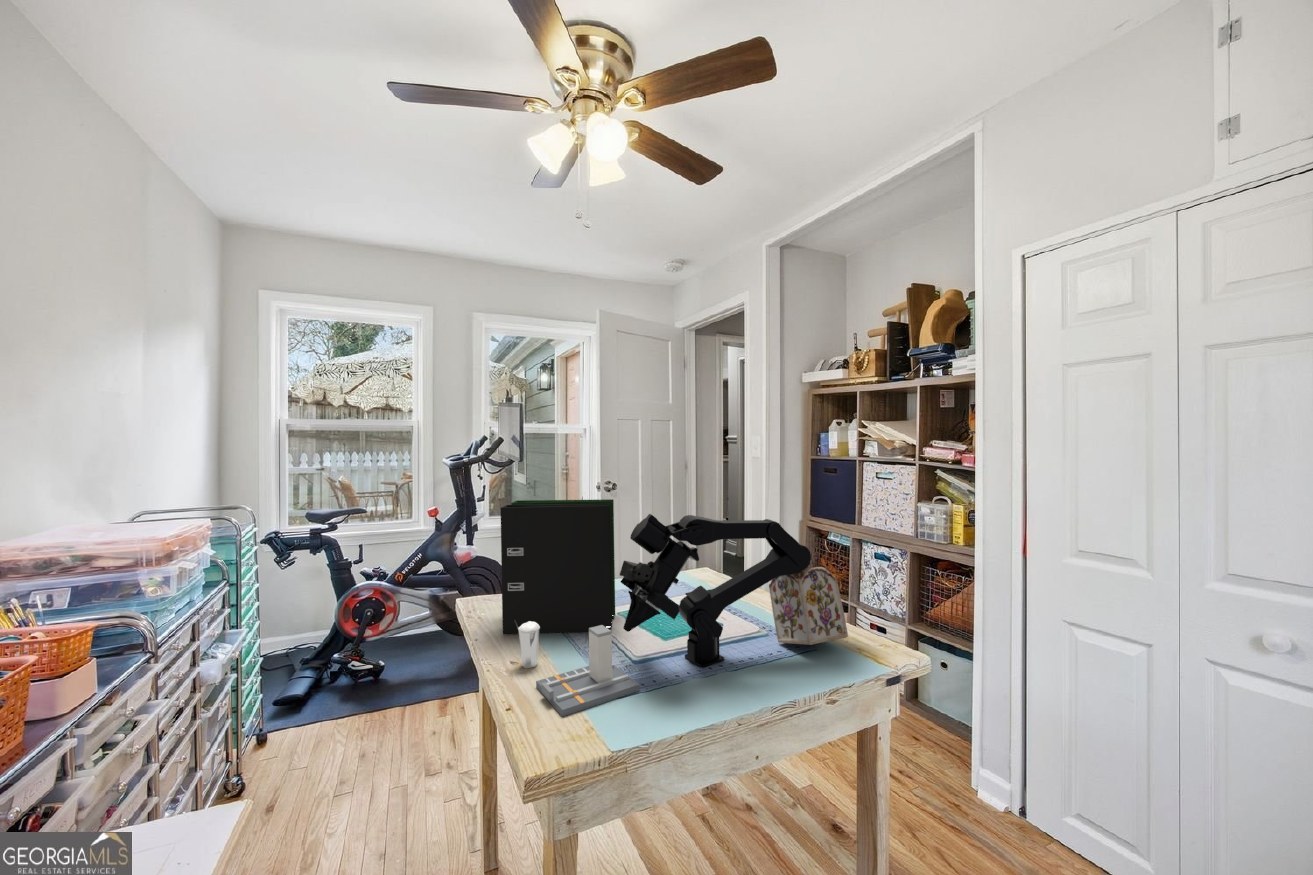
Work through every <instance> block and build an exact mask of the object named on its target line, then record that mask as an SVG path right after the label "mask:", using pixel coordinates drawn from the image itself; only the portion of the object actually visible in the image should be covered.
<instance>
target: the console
mask: <svg viewBox="0 0 1313 875" xmlns="http://www.w3.org/2000/svg"><path fill="white" fill-rule="evenodd" d="M535 682H536V683H535V686H536V689H537V691H539V692H540V694H542V695H543V696H544V698H545V699H546V700H547V702H549V703H550V705H552V707H553V708H554V709H555V710H556V711H557V712H558V713H559V715H560V717H566V716H568V715H572V714H574V713H579V712H581V711H584V710H586V709H590V708H592V707H596V706H597V705H601V704H603V703H607V702H609V701H614V700H616V699H618V698H621V697H624V696H628V695H630V694H633V693H636V692H639V691H640V684H639V683H638V682H637V681H635V680H634V679H633V678H631V677H630V675H628V674H627V673H625V672H624V671H622V670H621V669H619V667H617V666H615V664H614V663H613V662H612V679H611V680H607V681H604V682H601V683H597V682H596V681H595V680H594V679H593V678H592V677H590V670H589V665H587V666H584V667H580V668H577V669H574V670H569V671H566V672H563V673H559V674H554V675H553V676H549V677H545V678H542V679H538V680H536V681H535Z"/></svg>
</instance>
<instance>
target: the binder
mask: <svg viewBox="0 0 1313 875" xmlns="http://www.w3.org/2000/svg"><path fill="white" fill-rule="evenodd" d="M614 509H615V507H614V499H544V500H543V499H538V500H537V499H533V500H531V499H530V500H529V499H526V500H525V499H523V500H515V501H513V502H511V503H510V504H505V505H504V506H502V507H500V548H501V549H500V552H501V557H500V558H501V604H502V605H501V606H502V607H501V610H502V616H501V618H502V619H501V620H502V635H503V636H504V635H505V636H507V635H508V636H509V635H519V630H518V627H520V626H521V625H522V624H523V623H527V622H528V621H531V622H536V623H537V624H538V625H539V626H540V633H539V635H540V634H542V635H543V634H544V635H545V634H552V635H553V634H589V628H591V627H595V626H600V625H603V626H605V627H606V626H611V628H608V629H609V630H611V631H612V628H613V620H615V616H616V583H615V582H616V580H615V578H616V571H615V570H616V568H615V521H614V520H615V519H614V517H615V516H614V515H615V512H614V511H615V510H614ZM612 615H614V616H612ZM515 621H516V623H517V625H518V627H517V625H516V623H515ZM611 622H612V623H611Z"/></svg>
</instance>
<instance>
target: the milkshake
mask: <svg viewBox="0 0 1313 875" xmlns="http://www.w3.org/2000/svg"><path fill="white" fill-rule="evenodd" d="M515 623H516V621H515ZM516 625H517V623H516ZM517 627H518V625H517ZM518 630H519V634H518V638H519V645H520V647H519V648H520V655H521V664H522V668H524V669H532V668H535V667H536V666H538V664H539V663H538V660H539V645H540V644H539V643H540V634H539V633H540V626H539V625H538V624H537V623H536V622H531V621H528V622H527V623H523V624H522V625H521V626H520V627H518Z"/></svg>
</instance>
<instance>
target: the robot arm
mask: <svg viewBox="0 0 1313 875" xmlns="http://www.w3.org/2000/svg"><path fill="white" fill-rule="evenodd" d="M671 537H673V538H674V539H676V540H677V541H676V540H674V539H673V538H671ZM742 539H743V540H744V539H745V540H747V539H749V540H750V539H751V540H752V539H754V540H755V539H765V540H766V541H767V543H768V545H769V546H770V547H771V548H772V549H770V550H769V552H768V553H767V555H766V557H765V558H764V559H762V560H761V561H759V562H758V563H755V564H753V565H752V566H751V567H748V568H747V569H746V570H744V571H742V572H740V573H739V574H736V575H735V576H733V577H732V578H730V579H728V580H727V581H725V582H723V583H721V584H719V585H718V586H716V587H714V588H712V589H708V590H707V589H706V588H705V587H704V586H702V585H698V586H697V587H696V588H695V589H693V590H692V591H689V592H685V595H686V596H684V597H683V598H681V600H680V603H679V604H678V603H676V602H675V601H673V600H672V599H671V598H669V596H668V595H667V592H668V591H669V589H670V588H671V586H672V585H673V583H674V584H675V585H678V583H679V581H680V580H679V579H678V578H677V577H678V575H679V574H680V572H681V570H683V568H684V566H685V565H686V563H687V562H688V560H689V559H690V560H692V561H696V562H699V561H700V557H699V554H698V548H697V547H694V546H703V545H708V544H711V543H714V542H717V541H720V540H742ZM630 540H632V541H633V542H634V543H636V544H637V545H638V546H640V547H641V548H642V549H644V550H645V551H646V552H647V553H649V554H651V555H653V554H658V555H657V557H656V559H655V560H654V561H652V560H651V561H649V562H647V563H643V562H640V561H639V562H638V563H636V562H631V561H629V560H628V561H627V560H623V562H622V566H621V569H620V572H619V576H621V577H622V579H621V580H620V583H621V584H622V585H623V586H625V587H626V588H628V589H629V590H628V592H627V593H628V594H629V597H630V603H629V604H630V605H629V608H628V612H627V615H626V617H625V621H624V624H623V630H625V631H626V632H630V631H632V630H634V629H635V628H637V627H638V626H640V625H642V624H643V623H644V622H646V621H648V620H650V619H652V618H654V617H655V616H657V615H661V612H663V613H664V614H666V615H667V616H668V617H669V618H671V619H672V620H675V619H676V618H677V616H678V615H679V616H681V618H682V619H683V620H684V622H685V623H686V624H687V625H688V627H689V628H691V629H690V631H688V639H686V640H687V642H686V645H687V646H686V647H687V648H686V651H687V653H685V654H684V658H685V659H686V660H689V661H690V662H691V663H694V664H695V665H697V666H699V667H700V668H705V667H708V666H711V665H715V664H717V663H720V662H723V661H725V656H723V655H721V654H720V638H721V635H722V633H723V630H724V627H723V626H722V625H721V624H720V623H719V622H718V621H717V620H718V618H719V617H720V616H721V614H722V612H723V611H724V610H725V608H727V607H728V606H730V605H732V604H734V603H735V602H737V601H739V600H740V599H742V598H744V597H746V596H747V595H749V594H750V593H752V592H754V591H755V590H758V589H759V588H760V587H762V586H764V585H766V584H768V583H770V582H771V580H773V579H774V578H776V577H778V576H784V575H790V574H794V573H797V572H800V571H802V570H805V569H806V568H807V567H808V566H809V565H810V564H811V560H812V554H811V551H810V549H809V547H807V546H806V545H803V544H801V543H799V542H798V540H796V539H795V538H794V537H793V536H792V535H790V534H789V533H788V532H787V530H786V529H784V528H783V526H781V524H780V523H779V522H778V521H776V520H772V519H769V518H766V519H763V520H762V519H761V520H760V519H757V520H752V519H747V520H742V519H741V520H740V519H739V520H717V519H712V518H708V517H703V516H699V515H698V516H697V515H693V514H692V515H691V514H688V515H684V516H682V518H681V519H680V520H679V521H678V522H677V521H676V522H674V523H671V524H668V525H664V524H663V523H661V522H660V521H659V519H658V518H657V517H656V516H654V515H653V514H652V513H648V515H647V516H646V517H645V518H644V519H642V520H641V521H640V522H639V523H637V524H636V525H635V527H634V528H633V530H632V531H631V533H630ZM685 542H687V543H689V544H690V545H692V547H690V546H689V545H687V544H686V543H685ZM810 566H811V565H810ZM660 610H661V612H660Z"/></svg>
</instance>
